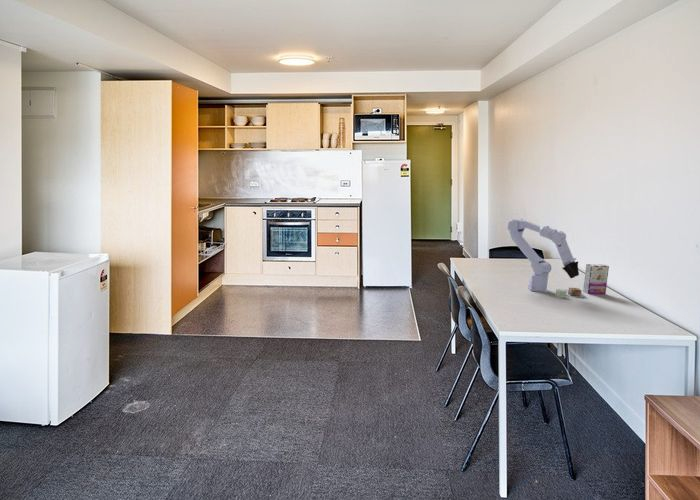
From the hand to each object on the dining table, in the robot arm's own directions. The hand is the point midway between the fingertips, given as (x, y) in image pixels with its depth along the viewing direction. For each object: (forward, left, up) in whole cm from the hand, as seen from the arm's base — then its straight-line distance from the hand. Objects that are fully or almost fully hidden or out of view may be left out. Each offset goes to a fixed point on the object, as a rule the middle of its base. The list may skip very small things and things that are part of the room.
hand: (574, 276), depth 267 cm
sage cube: (-6, -1, -12) cm, 13 cm away
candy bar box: (+16, +15, -12) cm, 25 cm away
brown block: (+3, +5, -11) cm, 12 cm away
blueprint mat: (+3, +9, -11) cm, 15 cm away
